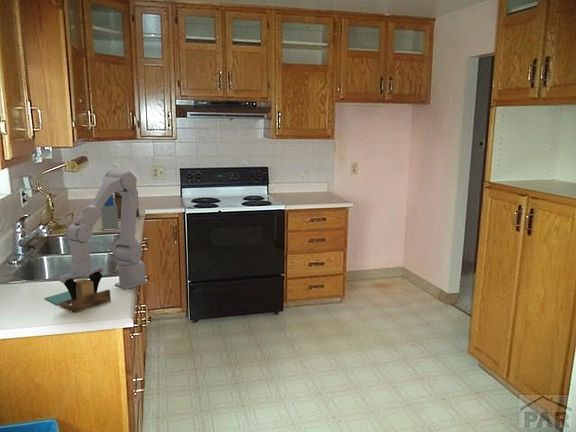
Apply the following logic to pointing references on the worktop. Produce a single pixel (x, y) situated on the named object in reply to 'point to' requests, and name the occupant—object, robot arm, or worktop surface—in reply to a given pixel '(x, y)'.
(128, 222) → the robot arm
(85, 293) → the block
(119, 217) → the wooden container
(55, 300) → the mat
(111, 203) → the spray bottle
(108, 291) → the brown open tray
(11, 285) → the worktop surface
